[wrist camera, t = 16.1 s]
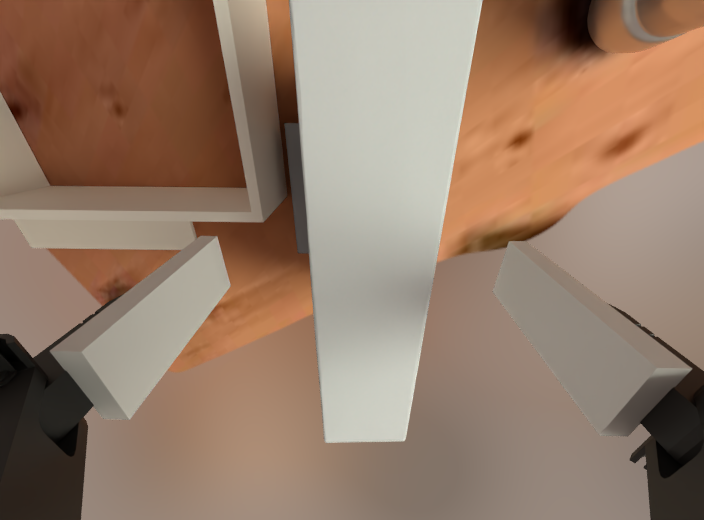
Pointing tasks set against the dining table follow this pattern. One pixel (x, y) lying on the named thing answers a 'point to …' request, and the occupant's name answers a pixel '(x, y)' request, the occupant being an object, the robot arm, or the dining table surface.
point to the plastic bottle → (641, 22)
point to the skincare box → (376, 190)
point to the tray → (160, 202)
